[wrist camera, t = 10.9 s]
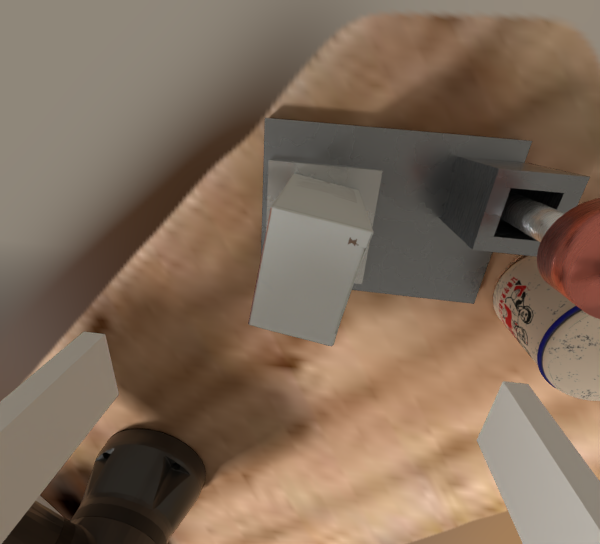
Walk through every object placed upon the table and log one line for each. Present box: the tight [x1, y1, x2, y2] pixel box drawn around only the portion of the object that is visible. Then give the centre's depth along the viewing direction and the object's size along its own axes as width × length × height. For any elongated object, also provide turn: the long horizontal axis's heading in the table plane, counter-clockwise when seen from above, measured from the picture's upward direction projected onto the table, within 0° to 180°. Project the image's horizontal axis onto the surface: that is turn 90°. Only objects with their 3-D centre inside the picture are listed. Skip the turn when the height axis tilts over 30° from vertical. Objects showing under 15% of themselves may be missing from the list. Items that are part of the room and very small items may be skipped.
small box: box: [248, 173, 373, 346], centre depth 23 cm, size 8×6×10 cm
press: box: [261, 118, 590, 304], centre depth 25 cm, size 20×14×8 cm
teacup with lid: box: [493, 256, 600, 401], centre depth 26 cm, size 12×9×12 cm
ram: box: [500, 192, 600, 319], centre depth 17 cm, size 5×5×10 cm
